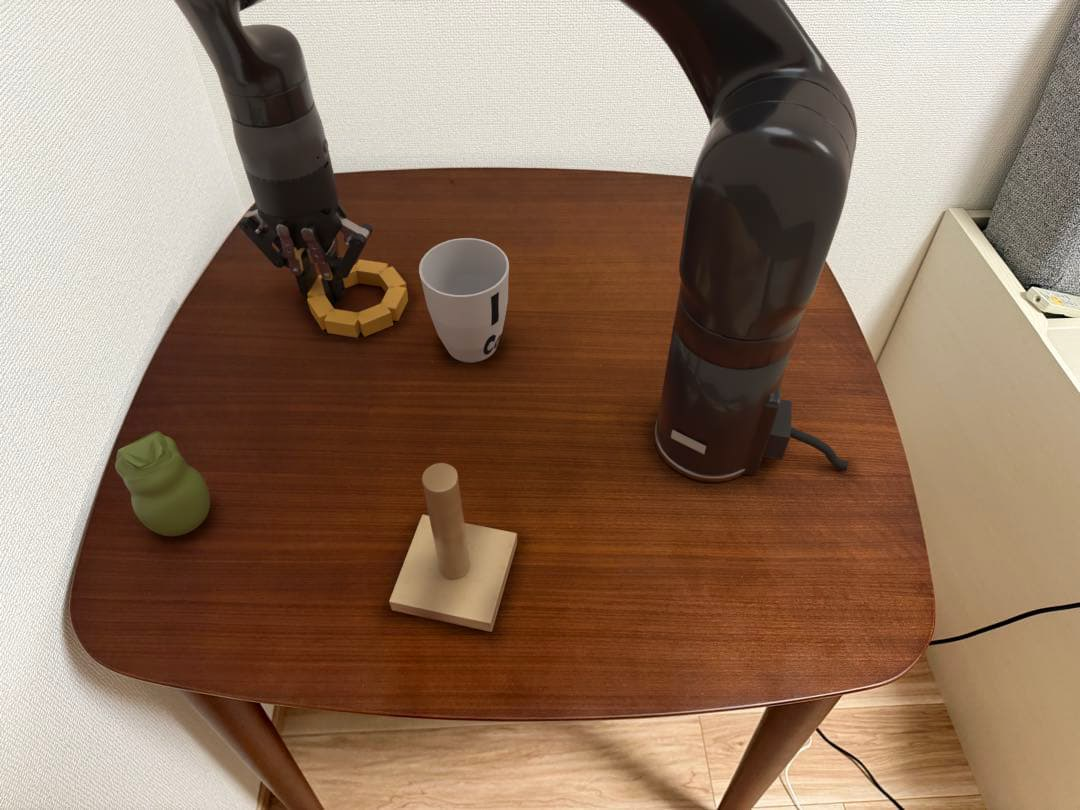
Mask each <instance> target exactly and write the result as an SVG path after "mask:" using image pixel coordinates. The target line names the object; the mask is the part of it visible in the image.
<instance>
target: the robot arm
mask: <svg viewBox="0 0 1080 810" xmlns="http://www.w3.org/2000/svg"><path fill="white" fill-rule="evenodd" d="M265 1H266V0H173V2H174V3H175V4H176V6H177V7H178V9H179V11H180V12H181V14H182V15H183V16H184V17H185V19H186V21H187V23H188V24H189V26H190V27H191V29H192V30H193V32H194V34H195V36H196V37H197V40H199V43H200V44H201V46H202V47H203V49H204V51H205V53H206V55H207V56H208V58H209V60H210V62H211V64H212V66H213V68H214V70H215V71H216V72H215V73H216V74H217V77H218V80H219V84H220V87H221V90H222V95H223V97H224V100H225V102H226V105H227V109H228V112H229V116H230V119H231V124H232V130H233V131H232V132H233V137H234V140H235V143H236V144H235V145H236V147H237V150H238V154H239V156H240V159H241V162H242V166H243V169H244V171H245V174H246V178H247V181H248V184H249V187H250V190H251V193H252V196H253V200H254V203H255V205H256V206H250V207H249V209H248V210H247V211H246V213H245V214H244V216H243V217H242V218H241V220H240V221H239V222H238V227H239V228H240V230H242V232H243V233H244V234H245V236H247V238H249V240H251V242H252V243H253V244H254V245H255V246H256V247H257V248H258V249H259V251H261V252H262V254H263V255H264V256H265V257H266V258H267V259H268V260H269V262H270V263H271V264H272V265H273V266H274V267H276V268H277V269H283V268H284V267H285V268H287V269H289V270H290V272H291V273H292V274H293V275H294V276H295V280H296V283H297V286H298V290H299V292H300V294H301V295H302V296H304V297H305V300H306V301H307V299H308V295H307V294H308V292H309V291H310V289H311V288H312V286H313V284H314V283H315V281H316V279H317V278H318V276H319V275H318V272H317V269H316V266H315V264H317V267H318V270H319V274H321V276H322V278H321V281H322V285H323V289H324V292H325V294H326V297H327V299H328V300H329V302H330V303H331V305H332V306H337V304H338V302H340V301H341V299H342V297H343V296H344V294H345V292H346V288H345V286H344V282H343V278H347V277H348V276H349V274H350V272H351V270H352V268H353V266H354V265H355V264H357V262H358V260H359V259H360V256H361V255H362V252H363V250H364V248H365V246H366V245H367V243H368V241H369V239H370V237H371V235H372V233H373V231H374V230H373V226H372V225H370V224H369V223H367V222H362V223H361V225H358V224H357V223H354V222H353V221H351V220H349V219H348V218H347V213H346V211H345V210H344V208H343V207H342V205H341V204H340V202H339V197H338V187H337V182H336V178H335V172H334V169H333V164H332V159H331V155H330V150H329V143H328V140H327V137H326V134H325V130H324V129H325V128H324V125H323V122H322V118H321V115H320V113H319V110H318V108H317V106H316V102H315V98H314V95H313V90H312V86H311V82H310V77H309V73H308V69H307V64H306V60H305V56H304V51H303V49H302V47H301V43H300V42H299V40H298V38H297V37H296V36H295V34H294V33H293V32H291V31H290V30H289V29H287V28H285V27H283V26H280V25H277V24H268V23H263V24H262V23H259V24H258V23H257V24H249V25H243V24H242V20H241V15H240V12H243V11H245V10H247V9H249V8H252V7H254V6H256V5H258V4H260V3H262V2H265ZM617 1H618V2H619V3H620V4H622V5H623V6H625V7H626V8H628V9H629V10H630V11H632V12H633V13H634V14H635V15H636V16H638V17H639V18H640V19H641V20H643V22H645V23H646V24H647V25H648V26H649V27H650V28H651V29H652V30H653V31H654V32H655V33H656V34H657V36H659V38H660V39H661V40H662V41H663V43H664V44H665V45H666V46H667V48H668V49H669V51H670V52H671V54H672V55H673V57H674V58H675V60H676V61H677V63H678V65H679V66H680V68H681V70H682V71H683V73H684V75H685V76H686V78H687V80H688V82H689V84H690V85H691V87H692V90H693V91H694V94H695V96H696V97H697V99H698V101H699V102H700V105H701V107H702V109H703V111H704V114H705V116H706V118H707V120H708V121H707V122H708V123H709V127H710V128H709V130H708V132H707V135H706V137H705V139H704V143H703V145H702V147H701V150H700V152H699V155H698V157H697V160H696V164H695V166H694V170H693V174H692V178H691V183H690V188H689V193H688V199H687V205H686V212H685V218H684V219H685V220H684V225H683V226H684V227H683V233H682V241H681V249H680V257H679V264H678V271H679V277H680V283H679V290H678V295H677V302H676V307H675V315H674V318H673V319H674V320H673V326H672V331H671V338H670V343H669V348H668V354H667V355H668V356H667V361H666V367H665V372H664V373H665V374H664V378H663V383H662V384H663V385H662V390H661V395H660V402H659V408H658V413H657V418H656V420H655V421H656V422H655V424H654V425H655V426H654V434H653V440H654V444H655V447H656V450H657V452H658V454H659V455H660V457H661V458H662V460H663V461H664V462H665V463H666V464H667V465H668V466H669V467H670V468H671V469H673V470H674V471H676V472H677V473H679V474H680V475H682V476H684V477H687V478H690V479H692V480H696V481H700V482H705V483H722V482H723V483H724V482H727V481H732V480H734V479H737V478H739V477H741V476H743V475H747V476H753V477H755V476H756V475H758V471H759V468H760V466H761V463H762V460H763V457H765V458H772V459H776V460H783V458H784V456H785V453H786V451H787V447H788V445H789V442H790V439H791V438H792V439H794V440H796V441H799V442H801V443H804V444H806V445H808V446H810V447H813V448H814V449H816V450H817V451H819V452H821V453H822V454H823V455H824V456H825V457H826V459H827V460H828V462H829V463H830V464H831V465H832V466H833V467H835V468H836V469H838V470H841V471H847V470H848V466H849V461H848V460H843V459H841V458H839V456H838V455H837V453H836V452H835V450H834V449H833V448H832V447H831V446H830V445H829V444H827V442H825V441H823V440H821V439H819V438H817V437H816V436H814V435H811V434H809V433H807V432H805V431H802V430H799V429H798V428H795V427H792V410H793V409H792V408H793V406H792V405H793V401H792V400H788V399H783V398H782V383H783V380H784V376H785V373H786V370H787V367H788V364H789V361H790V358H791V354H792V352H793V348H794V346H795V343H796V340H797V338H798V337H797V336H798V334H799V331H800V327H801V325H802V322H803V319H804V315H805V313H806V310H807V307H808V305H809V303H810V302H811V300H812V298H813V297H814V294H815V292H816V289H817V286H818V283H819V281H820V277H821V275H822V272H823V269H824V266H825V263H826V260H827V258H828V256H829V251H830V249H831V246H832V243H833V241H834V238H835V235H836V232H837V229H838V226H839V223H840V221H841V217H842V213H843V211H844V206H845V203H846V199H847V195H848V191H849V184H850V180H851V174H852V169H853V164H854V159H855V153H856V147H857V140H858V124H857V118H856V112H855V108H854V106H853V103H852V100H851V98H850V96H849V94H848V92H847V90H846V88H845V87H844V85H843V84H842V82H841V80H840V78H839V77H838V75H837V74H836V73H835V71H834V69H833V68H832V67H831V66H830V64H829V63H828V61H827V59H826V58H825V57H824V55H823V54H822V52H821V51H820V50H819V48H818V47H817V45H816V43H815V42H814V41H813V39H812V38H811V37H810V35H809V34H808V33H807V31H806V30H805V28H804V26H803V25H802V24H801V22H800V21H799V20H798V18H797V16H796V15H795V14H794V12H793V10H792V9H791V8H790V6H789V5H788V4H787V2H786V0H617ZM340 232H341V233H342V234H343V242H344V247H345V248H347V249H346V251H345V253H344V255H343V256H341V255H340V251H339V249H338V248H339V239H338V235H339V233H340ZM273 244H274V245H275V247H276V248H277V249H278V250H277V249H276V248H274V246H273ZM311 260H312V261H313V262H311Z"/></svg>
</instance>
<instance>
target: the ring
mask: <svg viewBox="0 0 1080 810" xmlns="http://www.w3.org/2000/svg"><path fill="white" fill-rule="evenodd" d="M317 276H318V278H317V279H316V281H315V283H314V284H313V286H312V288H311V289H310V291H309V292H308V294H307V295H308V299H307V300H306V302H307V304H308V307H309V312H310V313H311V315H312V316H313V318H314V320H315V321H316V322H317V324H318V326H319V327H320V329H321V330H322V331H324V330H326V332H327V334H333V335H337V336H344V337H350V338H355V339H358V338H359V336H360V334H362V336H363V337H364V338H366V337H369V336H370V335H373V334H375V333H377V332H381V331H382V330H386V329H387V328H390V327H393V326H394V321H395V322H399V321H400V318H401V317H402V314H403V312H404V310H405V308H406V306H407V304H408V302H409V297H408V296H409V294H408V287H407V283H406V281H405V280H404V279H403V278H402V275H400V274H399V272H398V271H397V270H396V268H394V266H393V265H392V266H389V265H388V262H387V263H386V262H380V261H373V260H366V259H360V258H358V260H357V262H356V263H355V265H354V266H353V268H352V270H351V272H350V274H349V276H348V277H347V278H343V282H344V286H345V289H347V288H350V287H352V286H355V285H358V284H362V285H368V286H374V287H380V288H381V289H382V290H383V291H384V293H385V294H384V295H383V298H382V300H381V302H380V303H378V304H376V305H373V306H371V307H369V308H366V309H363V310H360V311H359V312H358V311H357V312H355V311H351V310H350V311H349V310H345V309H339V308H335V307H334V305H331V303H330V302H329V300H328V299H327V297H326V294H325V292H324V289H323V285H322V281H321V278H322V276H321V273H319V274H318V275H317Z"/></svg>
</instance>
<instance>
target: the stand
mask: <svg viewBox="0 0 1080 810" xmlns="http://www.w3.org/2000/svg"><path fill="white" fill-rule="evenodd" d="M421 484H422V488H423V493H424V498H425V503H426V508H427V513H428V515H427V514H421V517H420V520H419V521H418V525H417V527H416V530H415V533H414V536H413V538H412V540H411V543H410V545H409V548H408V551H407V553H406V555H405V559H404V561H403V563H402V566H401V569H400V572H399V574H398V577H397V579H396V582H395V585H394V586H393V590H392V593H391V595H390V598H389V601H388V602H389V606H390V609H391V611H394V612H399V613H403V614H407V615H412V616H416V617H420V618H425V619H430V620H435V621H439V622H444V623H448V624H454V625H458V626H462V627H467V628H472V629H477V630H482V631H484V632H490V633H491V632H493V629H494V626H495V623H496V619H497V615H498V612H499V608H500V604H501V602H502V597H503V594H504V591H505V587H506V584H507V580H508V577H509V573H510V570H511V565H512V563H513V559H514V556H515V552H516V548H517V545H518V534H517V532H513V531H508V530H502V529H498V528H492V527H487V526H482V525H479V524H478V525H477V524H473V523H467V522H465V516H464V511H463V510H464V509H463V502H462V496H461V488H460V482H459V474H458V471H457V469H456V468H455V467H454V466H452V465H451V464H449V463H446V462H437V463H434V464H431V465H429V466H428V467H427V468H426V469H425V470H424V471H423V473H422V476H421Z"/></svg>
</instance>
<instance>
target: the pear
mask: <svg viewBox="0 0 1080 810" xmlns="http://www.w3.org/2000/svg"><path fill="white" fill-rule="evenodd" d="M114 466H115V470H116V472H117V474H118V475H119V476H120V477H121V479H122V480H123V482H124V484H125V487H126V488H127V490H128V491H129V493H130V496H131V497H130V498H131V499H130V500H131V507H132V509H133V513H134V515H135V516H136V517H137V518H138V520H139V521H140V522H141V523H142V524H143V525H144V526H145V527H146V528H147V529H148V530H150V531H151V532H154V533H155V534H158V535H160V536H164V537H179V536H183V535H186V534H188V533H191V532H192V531H194V530H195V529H197V528H198V527H200V525H202V523H203V522H204V521H205V520H206V518H207V516H208V514H209V511H210V506H211V495H210V490H209V487H208V484H207V482H206V480H205V479H204V477H203V475H201V473H200V472H199V471H198V470H197V469H196V468H194V467H192V466H191V465H189V464H188V463H187V462H186V459H185V458H184V457H183V456H182V454H181V453H180V452H179V450H178V446H177V444H176V442H175V440H174V439H173V438H172V437H170V436H167V435H164V434H163V433H162V432H161V431H158V430H155V431H153V432H151V433H148V434H147V435H145V436H143V437H141V438H139V439H137V440H135V441H134V442H131V443H129V444H127V445H125V446H123V447H121V448H119V449H118V450H117V453H116V460H115V464H114Z"/></svg>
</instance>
